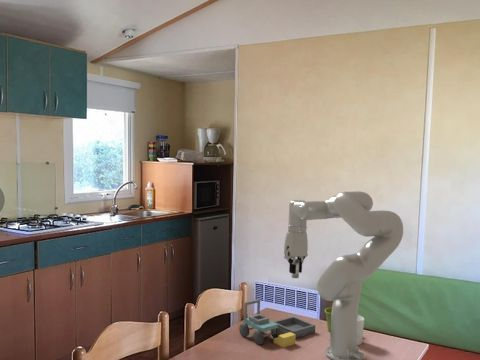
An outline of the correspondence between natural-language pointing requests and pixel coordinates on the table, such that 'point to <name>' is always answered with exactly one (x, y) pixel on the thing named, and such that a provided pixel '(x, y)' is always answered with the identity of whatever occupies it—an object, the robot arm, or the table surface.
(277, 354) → the table surface
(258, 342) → the trolley
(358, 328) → the white cup
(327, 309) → the plant pot
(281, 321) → the tray
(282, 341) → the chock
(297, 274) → the pin
